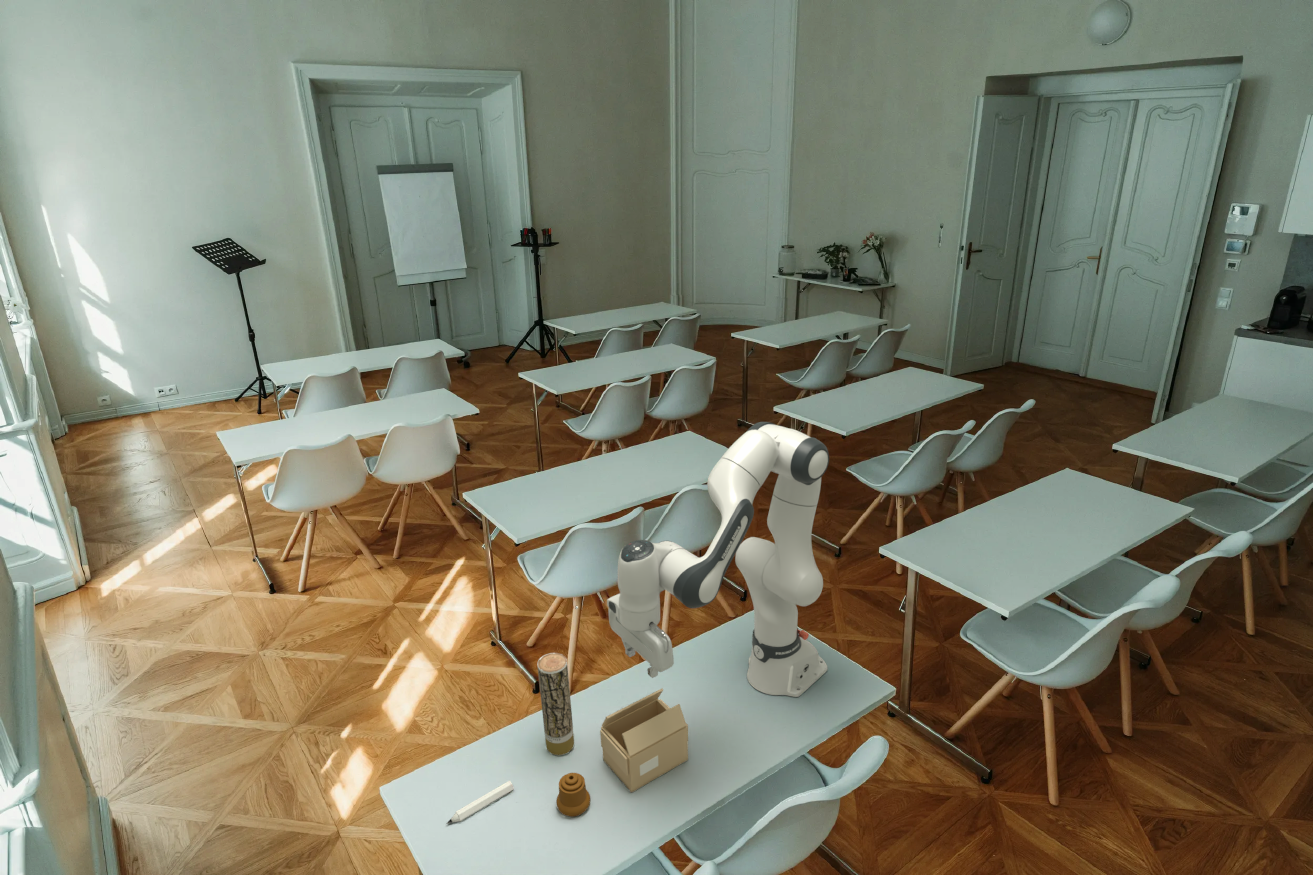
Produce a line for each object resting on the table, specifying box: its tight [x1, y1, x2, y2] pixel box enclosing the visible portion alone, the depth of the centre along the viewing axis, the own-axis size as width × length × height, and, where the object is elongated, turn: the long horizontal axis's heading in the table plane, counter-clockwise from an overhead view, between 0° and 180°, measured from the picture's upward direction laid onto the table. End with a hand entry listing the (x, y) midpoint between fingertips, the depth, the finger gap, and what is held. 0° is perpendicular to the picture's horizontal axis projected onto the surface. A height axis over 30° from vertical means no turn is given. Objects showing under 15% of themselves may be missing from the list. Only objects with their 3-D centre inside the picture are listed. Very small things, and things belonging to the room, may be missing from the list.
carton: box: [599, 698, 689, 793], centre depth 180 cm, size 17×12×10 cm
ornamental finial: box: [555, 772, 591, 818], centre depth 169 cm, size 8×8×8 cm
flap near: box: [622, 703, 687, 756], centre depth 174 cm, size 16×1×5 cm, turn 125°
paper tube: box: [536, 652, 575, 756], centre depth 182 cm, size 7×7×25 cm
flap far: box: [601, 687, 664, 727], centre depth 181 cm, size 16×1×5 cm
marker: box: [445, 780, 515, 825], centre depth 171 cm, size 3×2×16 cm
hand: (641, 664), depth 172 cm, fingers open, 7 cm apart
